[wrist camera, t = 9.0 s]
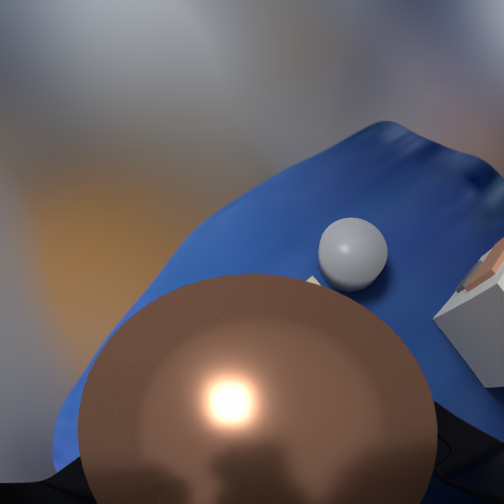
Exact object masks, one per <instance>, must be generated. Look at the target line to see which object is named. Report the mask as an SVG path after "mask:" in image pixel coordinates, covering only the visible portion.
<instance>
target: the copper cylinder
mask: <svg viewBox="0 0 504 504" xmlns="http://www.w3.org/2000/svg"><path fill="white" fill-rule="evenodd" d="M78 442H79V451H80V457H81V461H82V466H83V470H84V473H85V476H86V479H87V482H88V485H89V487H90V489H91V491H92V494H93V496H94V498H95V500H96V502H97V504H420V503H421V501H422V499H423V497H424V495H425V493H426V491H427V488H428V485H429V482H430V479H431V476H432V473H433V469H434V464H435V458H436V452H437V420H436V413H435V406H434V402H433V399H432V395H431V392H430V389H429V386H428V383H427V381H426V379H425V376H424V374H423V372H422V370H421V368H420V366H419V364H418V362H417V361H416V359H415V358H414V356H413V355H412V353H411V352H410V350H409V349H408V348H407V346H406V345H405V343H404V342H403V341H402V340H401V339H400V338H399V337H398V336H397V335H396V333H395V332H394V331H393V330H392V329H391V328H390V327H389V326H388V325H387V324H386V323H384V322H383V321H382V320H381V319H380V318H378V317H377V316H376V315H375V314H373V313H372V312H371V311H370V310H368V309H367V308H365V307H363V306H362V305H360V304H358V303H357V302H355V301H354V300H352V299H350V298H349V297H347V296H344V295H342V294H340V293H338V292H336V291H333V290H331V289H329V288H327V287H324V286H321V285H317V284H314V283H311V282H308V281H304V280H301V279H295V278H289V277H284V276H278V275H263V274H243V275H228V276H222V277H217V278H212V279H206V280H202V281H199V282H196V283H193V284H190V285H186V286H183V287H180V288H178V289H176V290H174V291H172V292H170V293H168V294H165V295H163V296H161V297H159V298H158V299H156V300H155V301H153V302H151V303H150V304H148V305H147V306H145V307H143V308H142V309H141V310H139V311H138V312H137V313H136V314H134V315H133V316H132V317H131V318H130V319H128V320H127V321H126V322H125V323H124V324H123V325H122V326H121V327H120V328H119V329H118V330H117V331H116V333H115V334H114V335H113V336H112V337H111V338H110V339H109V341H108V342H107V344H106V345H105V346H104V348H103V349H102V351H101V352H100V354H99V355H98V357H97V359H96V361H95V363H94V365H93V367H92V369H91V371H90V373H89V375H88V378H87V381H86V384H85V387H84V390H83V393H82V398H81V403H80V408H79V418H78Z"/></svg>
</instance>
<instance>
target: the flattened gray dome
mask: <svg viewBox="0 0 504 504" xmlns="http://www.w3.org/2000/svg"><path fill="white" fill-rule="evenodd" d="M386 260H387V245H386V242H385V239H384V237H383V236H382V234H381V233H380V231H379V230H378V229H377V228H376V227H375V226H373V225H372V224H370V223H369V222H367V221H364V220H362V219H358V218H344V219H340V220H338V221H336V222H334V223H332V224H331V225H330V226H329V227H328V228H327V229H326V230H325V231H324V233H323V235H322V237H321V241H320V246H319V251H318V258H317V262H318V268H319V271H320V273H321V275H322V277H323V278H324V279H325V281H326V282H327V283H328V284H330V285H331V286H332V287H334V288H336V289H338V290H341V291H345V292H355V291H360V290H362V289H365V288H366V287H368V286H369V285H370V284H371V283H372V282H373V281H374V280H375V279H376V277H377V276H378V275H379V273H380V272H381V271H382V269H383V268H384V266H385V263H386Z"/></svg>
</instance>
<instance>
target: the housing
mask: <svg viewBox="0 0 504 504" xmlns="http://www.w3.org/2000/svg"><path fill="white" fill-rule="evenodd" d="M455 290H456V292H455V293H454V294H453V295H452V297H451V298H450V299H449V300H448V301H447V303H446V304H445V305H444V306H443V307H442V309H441V310H440V311H439V312H438V313H437V314H436V316H435V317H434V318H433V321H434V322H435V323H436V324H437V326H438V327H439V328H440V329H441V331H442V332H443V333H444V334H445V336H446V337H447V338H448V339H449V341H450V342H451V343H452V344H453V346H454V347H455V348H456V350H457V351H458V352H459V354H460V355H461V356H462V357H463V359H464V360H465V361H466V363H467V364H468V365H469V367H470V368H471V370H472V371H473V372H474V374H475V375H476V376H477V378H478V379H479V381H480V382H481V383H482V385H483V386H484V388H490V387H504V237H503V238H502V239H501V240H500V241H499V242H498V243H496V244H495V245H494V247H493V248H492V249H491V250H490V251H488V252H487V253H486V254H485V255H483V256H482V257H481V258H480V260H479V261H478V262H477V263H476V264H475V265H474V266H473V267H472V268H471V270H470V271H469V272H468V274H467V275H466V276H465V277H464V279H463V280H462V281H461V283H460V284H459V285H458V286H457V288H456V289H455Z"/></svg>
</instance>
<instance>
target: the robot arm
mask: <svg viewBox="0 0 504 504" xmlns="http://www.w3.org/2000/svg"><path fill="white" fill-rule="evenodd" d="M433 402H434V400H433ZM434 406H435V413H436V420H437V452H436V458H435V464H434V469H433V473H432V476H431V479H430V482H429V485H428V488H427V491H426V493H425V495H424V497H423V499H422V501H421V503H420V504H504V442H503V441H501V440H498V439H496V438H495V437H493V436H491V435H489V434H487V433H485V432H483V431H482V430H480V429H478V428H476V427H474V426H472V425H471V424H469V423H467V422H465V421H464V420H462V419H460V418H459V417H457V416H455V415H454V414H453V413H451V412H450V411H448V410H447V409H445V408H444V407H442V406H441V405H440V404H438V403H437V402H436V401H435V402H434ZM0 504H97V502H96V500H95V498H94V496H93V494H92V491H91V489H90V487H89V485H88V482H87V479H86V476H85V473H84V470H83V466H82V461H81V457H78V458H77V459H76V460H74V461H73V462H71V463H70V464H69V465H67V466H66V467H65V468H63V469H62V470H60V471H59V472H58V473H56V474H55V475H53V476H52V477H50V478H48V479H46V480H43V481H38V482H25V483H0Z"/></svg>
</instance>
